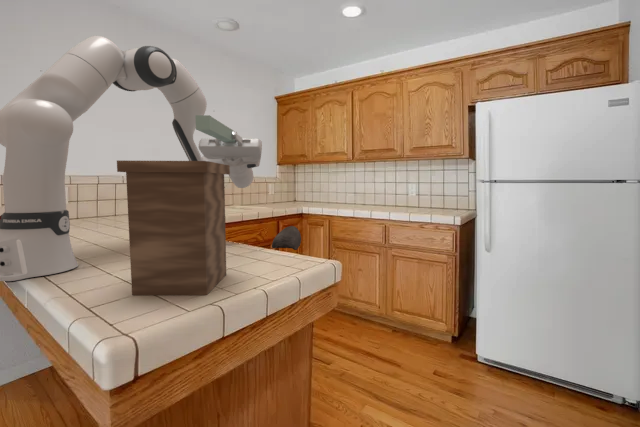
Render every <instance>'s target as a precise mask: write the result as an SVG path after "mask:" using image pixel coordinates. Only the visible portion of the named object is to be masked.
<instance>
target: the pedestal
mask: <svg viewBox="0 0 640 427" xmlns="http://www.w3.org/2000/svg"><path fill="white" fill-rule="evenodd" d="M116 169H117V170H116V171H117V173H126V174H125V177H126V178H125V179H126V197H127V220H128V238H129V239H128V240H129V259H130V280H131V282H130V284H131V295H132V296H207V295H208V294H209V293H210V292H211V291H212V290H213V289H214V288H216V286H218V284H219V283H220V282H221V281H222V280H223V279H224V278H225V277H226V276H227V245H226V244H227V241H226V203H225V200H226V199H225V198H226V195H225V193H226V192H225V175H228V174H230V166H229V165H224V164H219V163H214V162H209V161H189V160H116Z"/></svg>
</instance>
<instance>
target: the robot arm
mask: <svg viewBox="0 0 640 427" xmlns="http://www.w3.org/2000/svg"><path fill="white" fill-rule="evenodd" d="M112 85H114V86H115V87H117V88H119V89H121V90H123V91H127V92H137V91H148V90H152V89H158V91H160V92H161V93H162V94H163V96H164V97H165V99H166V101H167V102H168V103H169V105H170V107H171V108H172V113H173V120H172V122H171V123H172V128H173V130H174V133H175V135H176V137H177V139H178V141H179V143H180V145H181V148H182V149H183V152H184V153H185V156H186V157H187V159H188V161H209V162H214V163H219V164H224V165H229V166H230V174H227V175H228V177H229V178H230V179H229V180H231V182H232V183H233V184H234V186H235V187H236V188H239V189H246V188H248V187H249V186H250V185H251V184H252V183H253V181H254V172H253V168H258V167H259V166H260V164H261V158H262V153H263V152H262V150H263V141H262V140H261V139H259V138H243V137H242V136H240V135H239V134H238V132H237V131H235V132H232V134H231V137H232V139H235V142H223V141H221V140H219V139H216V138H214V137H212V138H209V137H207V138H206V137H205V138H203V137H202V138H200V140H199V142H198V147H197V145H196V143H195V140H194V134H195V130H196V115H205V114H206V111H207V105H208V104H207V100H206V96H205V94H204V93H203V91H202V89H201V87H200V86H199V84H198V83H197V81H196V79H195V78H194V77H193V76H192V73H190V71H189V70H188V69H187V68H186V66H185V65H183V63H182V62H181V61H179V60H178V59H176V58H171V57H170V55H169V54H167V52H166V51H164V50H163V49H161V48H159V47H157V46H155V45H154V46H153V45H152V46H151V45H144V46H141V47H137V48H136V47H135V48H129V49H126V50H121V48H120V47H119V46H117V44H116V43H115V42H113V41H112V40H111V39H109V38H107V37H105V36H101V35H91V36H90V37H88V38H85V39H83V40H82V41H80V42H79V43H77V44H75V45H74V46H73V47H71V48H69V50H68V51H66V52H65V53H64V54H63V55H62V56H61V57H60V58H59V59H58V60H56V61H55V62H54V64H52V65H51V66H50V67H48V69H46V71H44V73H42V74H41V75H40V76H39V77H38V78H36V79H35V80H34V81H33V82H31V84H29V85H28V86H27V87H26V88H24V89H23V90H22V91H21V92H19V93H18V94H17V95H16V96H14V98H12V99H11V100H9V102H7V104H5V105H4V106H3V107H2V108H1V109H0V145H1V146H2V147H4V148H5V159H4V168H3V173H2V177H1V178H2V179H1V180H2V190H3V203H4V212H3V213H2V214H1V215H0V282H12V281H13V282H14V281H21V280H24V279H25V280H26V279H29V278H34V277H35V278H36V277H41V276H42V277H43V276H48V275H54V274H58V273H59V274H60V273H64V272H66V271H70V270H73V269H76V268H77V267H78V266H79V263H78V261H77V259H76V256H75V254H74V251H73V248H72V243H71V238H70V237H71V236H70V226H71V224H70V223H71V222H70V214H69V212H70V211H69V210H68V209H67V198H66V197H67V196H66V184H65V183H66V180H65V179H66V170H67V161H68V154H69V147H70V146H69V145H70V140H71V137H72V135H73V133H74V121H76V120H77V119H78V118H79V117H81V116H82V115H83V114H85V113H86V112H87V111H88V110H89V109H90V108H91V107H92V106H93V105H94V104H95V103H96V102H97V101H98V100H99V99H100V98H101V97H102V96H103V95H104V93H105V92H106V91H107V90H108V89H109V88H110V87H111V86H112ZM201 153H202V155H203V156H201Z"/></svg>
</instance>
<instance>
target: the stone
mask: <svg viewBox="0 0 640 427" xmlns="http://www.w3.org/2000/svg"><path fill="white" fill-rule="evenodd" d="M301 242H302V234H301V232H300V231H299V229H298V228H297V227H296V226H294V225H290V226H287V227H284V228H283V229H282V230H280V232H278V234H276V236H275V237H274V238H273V241H272V243H271V248H272V249H293V250H294V251H297V250H298V249H299V247H300V246H301Z"/></svg>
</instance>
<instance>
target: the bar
mask: <svg viewBox="0 0 640 427" xmlns="http://www.w3.org/2000/svg"><path fill="white" fill-rule="evenodd" d="M195 130H197V131H199V132H201V133H204V134H205V135H208V136H210V137H212V138H216V139H219V140H221V141H223V142H235V139H232V137H231V134H232V132H236V131H235V130H233V129H231V128H230V127H228V126H227V125H225V124H224V123H222V122H220V121H219V120H217V119H216V118H214V117H212V116H211V115H208V114H207V115H205V114H204V115H196V129H195Z"/></svg>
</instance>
